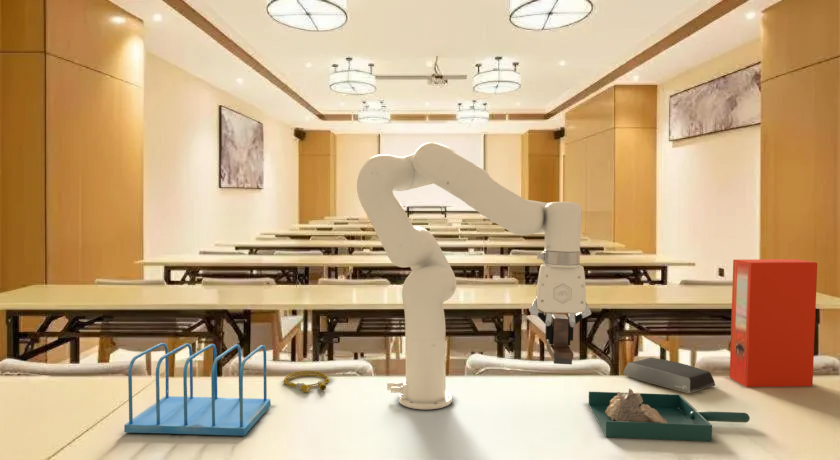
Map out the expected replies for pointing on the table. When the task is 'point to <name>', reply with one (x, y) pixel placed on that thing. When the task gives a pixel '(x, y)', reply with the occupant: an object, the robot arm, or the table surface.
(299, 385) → the gold rope bracelet
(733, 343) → the file binder
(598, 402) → the dustpan
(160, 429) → the file sorter
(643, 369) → the hard drive
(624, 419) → the rock
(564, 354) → the brown stepped block
